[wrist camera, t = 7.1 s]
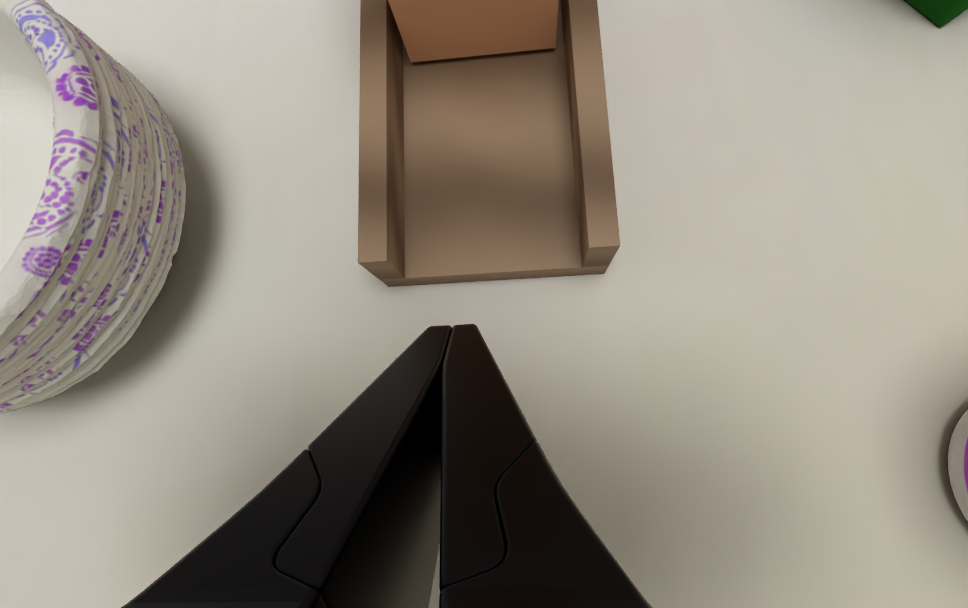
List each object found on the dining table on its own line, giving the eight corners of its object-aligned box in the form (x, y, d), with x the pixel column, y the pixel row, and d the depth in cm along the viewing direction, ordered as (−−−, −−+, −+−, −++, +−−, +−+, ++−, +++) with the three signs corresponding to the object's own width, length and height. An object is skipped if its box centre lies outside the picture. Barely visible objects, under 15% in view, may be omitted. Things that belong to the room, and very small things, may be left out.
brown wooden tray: (604, 273, 20) (620, 245, 16) (388, 286, 21) (358, 262, 17) (572, -91, 23) (579, -181, 20) (387, -68, 24) (362, -150, 20)
